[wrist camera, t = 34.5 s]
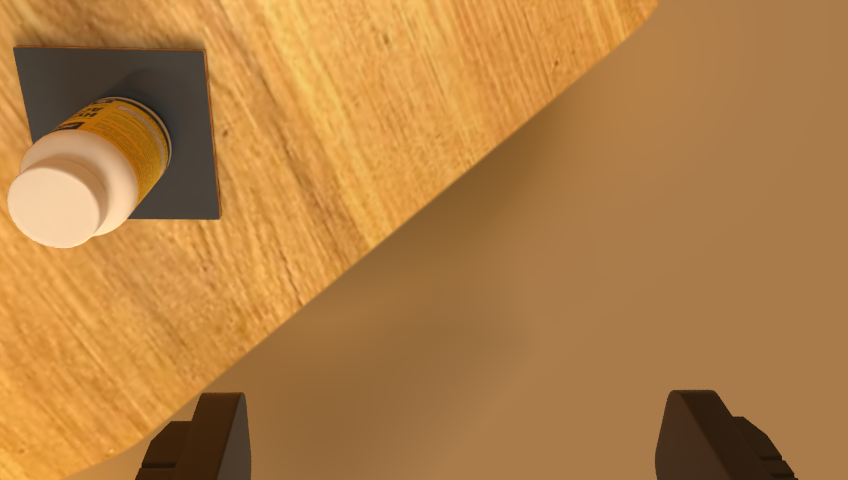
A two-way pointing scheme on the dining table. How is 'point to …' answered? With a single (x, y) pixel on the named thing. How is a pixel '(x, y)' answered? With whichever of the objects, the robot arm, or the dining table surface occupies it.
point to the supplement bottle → (89, 172)
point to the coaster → (147, 84)
